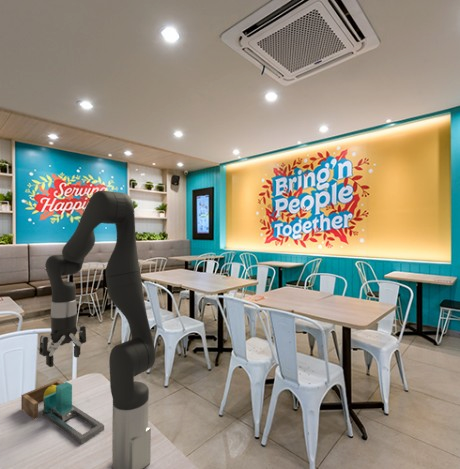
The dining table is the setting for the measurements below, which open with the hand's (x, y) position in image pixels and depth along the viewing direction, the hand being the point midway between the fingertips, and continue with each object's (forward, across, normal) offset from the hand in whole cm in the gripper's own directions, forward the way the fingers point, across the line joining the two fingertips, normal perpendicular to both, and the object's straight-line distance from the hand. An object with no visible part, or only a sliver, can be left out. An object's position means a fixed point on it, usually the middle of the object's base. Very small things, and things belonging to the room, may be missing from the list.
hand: (64, 361), depth 98 cm
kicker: (+18, 0, -1) cm, 18 cm away
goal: (+18, 0, +10) cm, 21 cm away
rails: (+18, 0, -5) cm, 19 cm away
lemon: (+18, 0, +7) cm, 20 cm away
